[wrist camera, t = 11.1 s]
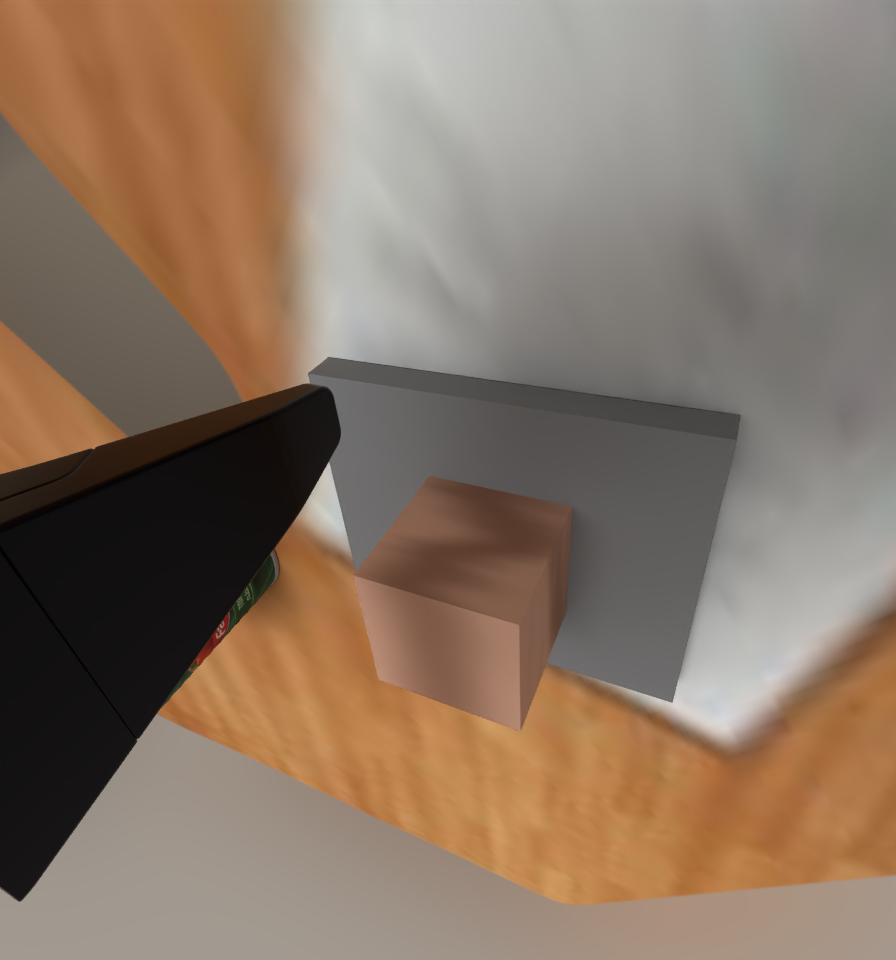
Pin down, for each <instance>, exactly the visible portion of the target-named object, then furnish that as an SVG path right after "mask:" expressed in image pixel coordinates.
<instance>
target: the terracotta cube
mask: <svg viewBox="0 0 896 960" xmlns="http://www.w3.org/2000/svg"><path fill="white" fill-rule="evenodd" d="M571 519H572V506H568V505H563V504H558V503H554V502H549V501H544V500H540V499H535V498H530V497H526V496H521V495H516V494H512V493H507V492H502V491H498V490H493V489H488V488H484V487H479V486H475V485H470V484H465V483H461V482H456V481H451V480H447V479H442V478H437V477H433V476H429V477H428V478H427V480H426V481H425V482H424V484H423V485H422V486H421V487H420V489H419V490H418V491H417V493H416V494H415V495H414V497H413V498H412V499H411V501H410V502H409V503H408V505H407V506H406V507H405V508H404V510H403V511H402V512H401V514H400V515H399V516H398V518H397V519H396V520H395V522H394V523H393V524H392V526H391V527H390V528H389V529H388V531H387V532H386V533H385V535H384V536H383V537H382V539H381V540H380V541H379V543H378V544H377V545H376V547H375V548H374V549H373V551H372V552H371V553H370V554H369V556H368V557H367V558H366V560H365V561H364V562H363V564H362V565H361V566H360V568H359V569H358V570H357V572H356V573H355V574H354V575H353V576H354V580H355V584H356V588H357V592H358V597H359V601H360V605H361V609H362V613H363V617H364V621H365V625H366V629H367V633H368V637H369V641H370V645H371V649H372V654H373V658H374V662H375V666H376V670H377V674H378V678H379V680H381V681H384V682H387V683H389V684H392V685H395V686H397V687H400V688H403V689H406V690H408V691H411V692H414V693H417V694H419V695H422V696H425V697H427V698H430V699H433V700H436V701H438V702H441V703H444V704H447V705H449V706H452V707H455V708H457V709H460V710H463V711H466V712H468V713H471V714H474V715H477V716H479V717H482V718H485V719H487V720H490V721H493V722H496V723H498V724H501V725H504V726H507V727H509V728H512V729H515V730H517V731H520V732H521V729H522V726H523V724H524V721H525V719H526V716H527V713H528V711H529V708H530V705H531V703H532V700H533V698H534V695H535V692H536V690H537V687H538V685H539V682H540V679H541V677H542V674H543V671H544V669H545V666H546V664H547V661H548V658H549V656H550V653H551V651H552V648H553V645H554V643H555V640H556V637H557V635H558V632H559V630H560V627H561V624H562V622H563V619H564V616H565V614H566V606H567V588H568V571H569V554H570V537H571Z"/></svg>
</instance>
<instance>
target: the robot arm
mask: <svg viewBox="0 0 896 960" xmlns="http://www.w3.org/2000/svg"><path fill="white" fill-rule="evenodd" d="M340 438H341V427H340V422H339V418H338V413H337V409H336V404H335V399H334V395H333V393H332V391H331V390H330V389H329V388H328V387H326V386H321V385H315V384H302V385H299V386H296V387H292V388H289V389H286V390H282V391H279V392H276V393H272V394H269V395H266V396H263V397H259V398H256V399H253V400H249V401H246V402H243V403H240V404H236V405H233V406H230V407H226V408H223V409H220V410H216V411H213V412H210V413H206V414H203V415H200V416H197V417H194V418H190V419H187V420H183V421H180V422H177V423H173V424H171V425H167V426H164V427H160V428H157V429H154V430H150V431H147V432H144V433H140V434H137V435H134V436H131V437H127V438H124V439H121V440H117V441H114V442H111V443H107V444H104V445H101V446H98V447H96V448H95V449H87V450H84V451H81V452H77V453H74V454H71V455H68V456H64V457H61V458H57V459H54V460H50V461H47V462H43V463H40V464H37V465H33V466H30V467H26V468H22V469H19V470H15V471H11V472H7V473H4V474H0V889H1V890H3V891H4V892H6V893H7V894H9V895H10V896H12V897H13V898H14V899H16V900H17V901H19V902H20V901H22V900H23V899H24V898H25V896H26V895H27V894H28V893H29V892H30V891H31V889H32V888H33V887H34V886H35V884H36V883H37V882H38V880H39V879H40V877H41V876H42V875H43V873H44V872H45V870H46V869H47V868H48V866H49V865H50V863H51V862H52V861H53V859H54V858H55V856H56V855H57V853H58V852H59V851H60V849H61V848H62V846H63V845H64V844H65V842H66V841H67V840H68V838H69V837H70V835H71V834H72V833H73V831H74V830H75V828H76V827H77V825H78V824H79V823H80V821H81V820H82V819H83V817H84V816H85V814H86V813H87V811H88V810H89V809H90V807H91V806H92V804H93V803H94V802H95V800H96V799H97V797H98V796H99V795H100V793H101V792H102V790H103V789H104V788H105V786H106V785H107V783H108V782H109V780H110V779H111V778H112V776H113V775H114V774H115V772H116V771H117V769H118V768H119V766H120V765H121V764H122V762H123V761H124V760H125V758H126V757H127V755H128V754H129V752H130V751H131V750H132V748H133V747H134V745H135V744H136V743H137V739H138V738H140V736H141V735H142V734H143V732H144V731H145V729H146V728H147V727H148V725H149V724H150V722H151V721H152V720H153V718H154V717H155V715H156V714H157V713H158V711H159V710H160V708H161V707H162V706H163V704H164V703H165V701H166V700H167V699H168V697H169V696H170V694H171V693H172V692H173V690H174V689H175V687H176V686H177V685H178V683H179V682H180V680H181V679H182V678H183V676H184V675H185V673H186V672H187V670H188V669H189V668H190V666H191V665H192V663H193V662H194V661H195V659H196V658H197V656H198V655H199V654H200V652H201V651H202V649H203V648H204V647H205V645H206V644H207V642H208V641H209V640H210V638H211V637H212V635H213V634H214V633H215V631H216V630H217V628H218V627H219V626H220V624H221V623H222V621H223V620H224V619H225V617H226V616H227V614H228V613H229V612H230V610H231V609H232V607H233V606H234V605H235V603H236V602H237V600H238V599H239V598H240V596H241V595H242V593H243V592H244V591H245V589H246V588H247V586H248V585H249V584H250V582H251V581H252V579H253V578H254V577H255V575H256V574H257V572H258V571H259V570H260V568H261V567H262V565H263V564H264V562H265V561H266V560H267V558H268V557H269V555H270V554H271V553H272V551H273V550H274V548H275V547H276V546H277V544H278V543H279V541H280V540H281V539H282V537H283V536H284V534H285V533H286V532H287V530H288V529H289V527H290V526H291V525H292V523H293V522H294V520H295V519H296V517H297V516H298V514H299V513H300V511H301V510H302V508H303V506H304V505H305V503H306V501H307V499H308V498H309V496H310V494H311V492H312V491H313V489H314V487H315V485H316V483H317V482H318V480H319V478H320V476H321V475H322V473H323V471H324V469H325V468H326V466H327V464H328V462H329V460H330V459H331V457H332V455H333V453H334V452H335V450H336V448H337V446H338V444H339V442H340Z"/></svg>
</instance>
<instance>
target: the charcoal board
mask: <svg viewBox="0 0 896 960" xmlns="http://www.w3.org/2000/svg"><path fill="white" fill-rule="evenodd" d="M308 376H309V380H310V384H315V385H321V386H326V387H328V388H329V389H330V390H331V391H332V393H333V395H334V399H335V404H336V409H337V413H338V418H339V422H340V427H341V438H340V442H339V444H338V446H337V448H336V450H335V452H334V453H333V455H332V457H331V459H330V460H329V462H330V466H331V470H332V474H333V479H334V483H335V487H336V491H337V495H338V499H339V503H340V507H341V511H342V516H343V520H344V524H345V528H346V532H347V536H348V540H349V544H350V548H351V552H352V557H353V561H354V565H355V569H356V572H357V570H358V569H359V568H360V566H361V565H362V564H363V562H364V561H365V560H366V558H367V557H368V556H369V554H370V553H371V552H372V551H373V549H374V548H375V547H376V545H377V544H378V543H379V541H380V540H381V539H382V537H383V536H384V535H385V533H386V532H387V531H388V529H389V528H390V527H391V526H392V524H393V523H394V522H395V520H396V519H397V518H398V516H399V515H400V514H401V512H402V511H403V510H404V508H405V507H406V506H407V505H408V503H409V502H410V501H411V499H412V498H413V497H414V495H415V494H416V493H417V491H418V490H419V489H420V487H421V486H422V485H423V484H424V482H425V481H426V480H427V478H428V477H429V476H433V477H437V478H442V479H447V480H451V481H456V482H461V483H465V484H470V485H475V486H479V487H484V488H488V489H493V490H498V491H502V492H507V493H512V494H516V495H521V496H526V497H530V498H535V499H540V500H544V501H549V502H554V503H558V504H563V505H568V506H572V519H571V537H570V554H569V571H568V588H567V606H566V614H565V616H564V619H563V622H562V624H561V627H560V630H559V632H558V635H557V637H556V640H555V643H554V645H553V648H552V651H551V653H550V656H549V658H548V661H547V663H548V664H551V665H555V666H558V667H561V668H564V669H567V670H570V671H574V672H577V673H580V674H583V675H586V676H589V677H593V678H596V679H599V680H602V681H605V682H608V683H612V684H615V685H618V686H621V687H624V688H628V689H631V690H634V691H637V692H640V693H643V694H647V695H650V696H653V697H656V698H659V699H662V700H666V701H669V702H672V703H673V698H674V694H675V690H676V686H677V682H678V678H679V674H680V670H681V666H682V661H683V657H684V653H685V649H686V645H687V641H688V637H689V633H690V629H691V624H692V620H693V616H694V612H695V608H696V604H697V600H698V596H699V592H700V587H701V583H702V579H703V575H704V571H705V567H706V563H707V559H708V555H709V551H710V546H711V542H712V538H713V534H714V530H715V526H716V522H717V518H718V514H719V509H720V505H721V501H722V497H723V493H724V489H725V485H726V481H727V477H728V472H729V468H730V464H731V460H732V456H733V452H734V448H735V444H736V439H737V433H738V426H739V420H740V415H733V414H726V413H719V412H712V411H705V410H697V409H690V408H683V407H676V406H669V405H662V404H655V403H648V402H641V401H634V400H627V399H619V398H612V397H605V396H598V395H591V394H584V393H577V392H570V391H563V390H556V389H549V388H541V387H534V386H527V385H520V384H513V383H506V382H499V381H492V380H485V379H478V378H471V377H463V376H456V375H449V374H442V373H435V372H428V371H421V370H414V369H407V368H400V367H393V366H385V365H378V364H371V363H364V362H357V361H350V360H343V359H336V358H329V357H328V358H327V359H326V360H325V361H323V362H322V363H321V364H319V365H318V366H317V367H316V368H314V369H313V370H312V371H311V372H309V373H308Z"/></svg>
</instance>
